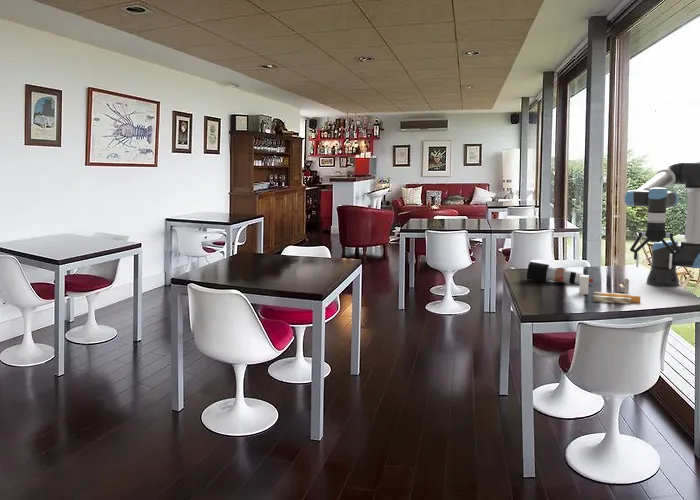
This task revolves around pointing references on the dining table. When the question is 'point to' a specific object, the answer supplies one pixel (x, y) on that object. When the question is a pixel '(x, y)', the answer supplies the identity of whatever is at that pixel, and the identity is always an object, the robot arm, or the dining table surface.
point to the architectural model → (625, 285)
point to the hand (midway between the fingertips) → (653, 267)
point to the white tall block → (584, 284)
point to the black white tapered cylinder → (552, 274)
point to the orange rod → (633, 298)
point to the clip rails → (611, 298)
